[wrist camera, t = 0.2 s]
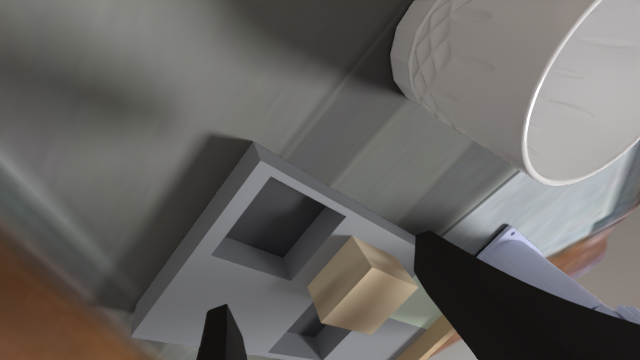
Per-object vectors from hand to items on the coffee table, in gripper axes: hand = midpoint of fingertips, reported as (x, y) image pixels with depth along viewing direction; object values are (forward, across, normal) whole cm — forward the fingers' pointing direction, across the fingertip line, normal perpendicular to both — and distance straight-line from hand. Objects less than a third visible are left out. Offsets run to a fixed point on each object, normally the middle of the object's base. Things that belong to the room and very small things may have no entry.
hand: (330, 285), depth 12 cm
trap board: (+10, -3, +12) cm, 16 cm away
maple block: (+7, -4, +9) cm, 12 cm away
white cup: (+10, -11, -5) cm, 16 cm away
